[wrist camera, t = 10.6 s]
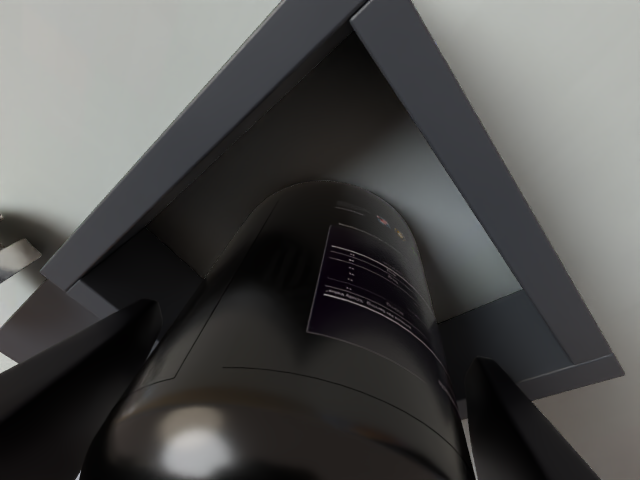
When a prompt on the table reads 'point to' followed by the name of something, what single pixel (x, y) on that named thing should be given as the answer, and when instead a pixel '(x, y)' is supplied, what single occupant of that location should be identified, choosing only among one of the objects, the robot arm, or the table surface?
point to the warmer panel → (43, 322)
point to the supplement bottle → (296, 359)
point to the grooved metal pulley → (16, 257)
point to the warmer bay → (442, 136)
